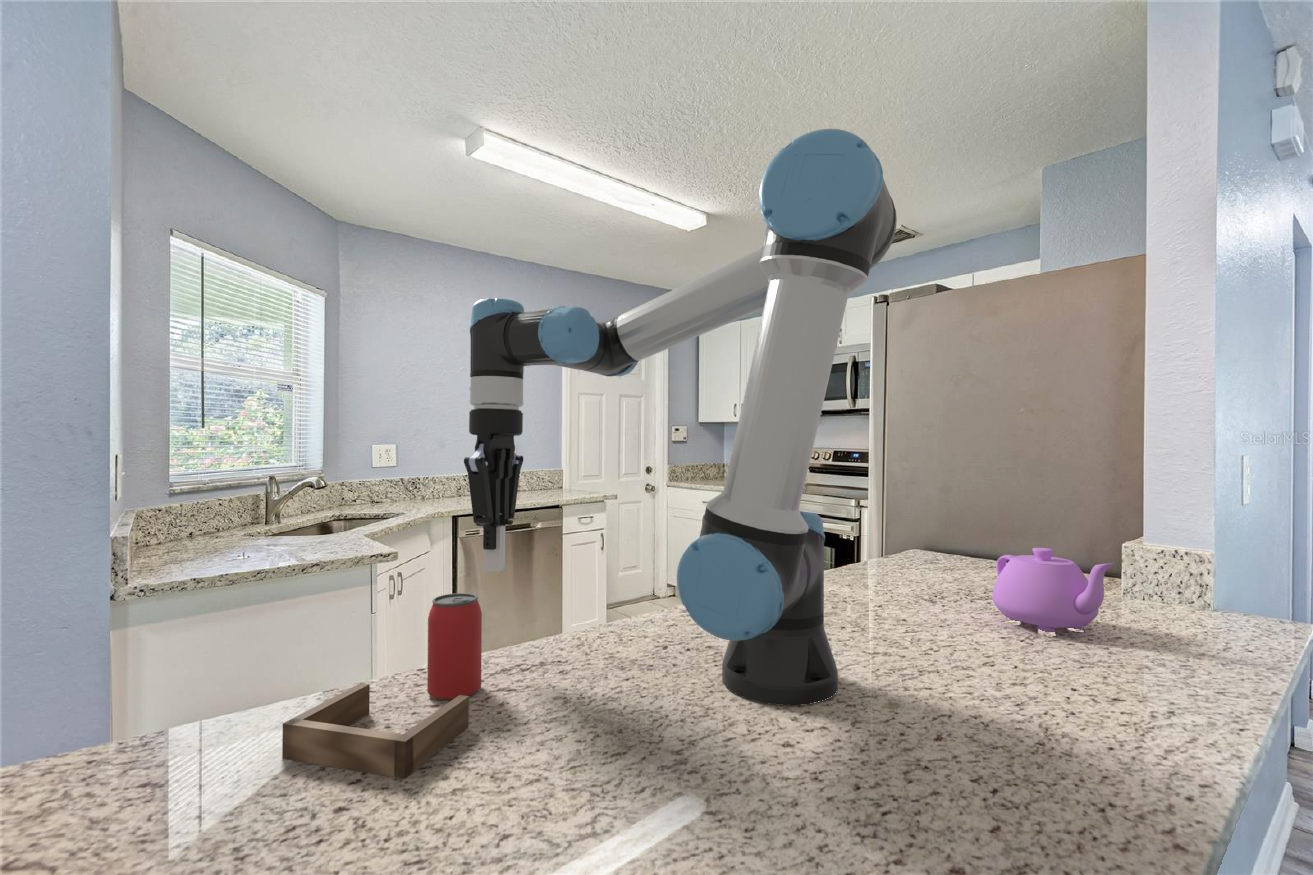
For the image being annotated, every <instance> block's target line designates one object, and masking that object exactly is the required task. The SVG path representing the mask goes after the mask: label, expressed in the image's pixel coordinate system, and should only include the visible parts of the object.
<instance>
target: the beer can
mask: <svg viewBox="0 0 1313 875" xmlns="http://www.w3.org/2000/svg"><path fill="white" fill-rule="evenodd" d="M478 600H479V596H478V595H476V594H473V593H468V592H467V593H465V592H458V593H457V592H456V593H455V592H454V593H447V594H443V595H438V596H436V597H435V598H433V599H432V605H431V608H430V610H429V613H428V617H427V680H426V681H427V687H426V688H427V693H428V695H429V696H430V697H431V698H433V699H435V700H438V701H445V702H446V701H449V702H450V701H452V700H453V699H454V698H456V697H457V696H459V695H464V696H469V697H472V696H473V695H475V694H476V693H478V691H479V690H480V689H481V688H482V653H483V652H482V644H483V642H482V641H483V640H482V631H483V630H482V629H483V628H482V623H483V622H482V621H483V618H482V613H483V612H482V608H481V606H480V603H479V601H478Z"/></svg>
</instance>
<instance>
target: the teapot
mask: <svg viewBox="0 0 1313 875" xmlns="http://www.w3.org/2000/svg"><path fill="white" fill-rule="evenodd" d="M1032 552H1033V555H1031V554H1023V555H1021V554H1020V555H1012V554H1004V555H1002V556H1000V557H999V558H997V561H996V574H997V578H996V581H995V583H994V586H993V590H992V591H993V592H992V602H993V604H994V606H996V607H995V608H997V610H998V611H999V612H1000V613H1001V614H1002V615H1003V616H1004V617H1006V618H1009V619H1012V620H1015V621H1020V622H1022V623H1025V624H1030V625H1033V626H1035V625H1036V626H1037V630H1038V629H1040V630H1042V631H1045V632H1056V633H1057V630H1056V628H1057V629H1059V628H1060V629H1066V628H1074V629H1080V630H1081V629H1084V627H1086V626H1088V625H1089V624H1091V622H1093V621H1094V620H1095V619H1096V618H1097V617H1098V615H1099V609H1100V607H1101V606H1102V605H1103V601H1104V597H1105V587H1104V584H1105V583H1104V577H1105V573H1106V572H1107V570H1108V569H1109V568H1110V567H1111V566H1113V565H1115V563H1116V562H1111V563H1109V562H1108V563H1101V564H1095V565H1094V566H1093V567H1092V568H1091V570H1090V572H1089V578H1087V577H1086V575H1085V574H1084V572H1083V571H1082V570H1081V568H1080V567H1079V565H1078V564H1077V563H1076V562H1074V560H1070V559H1067V558H1062V557H1057V556H1053V554H1054V549H1052V548H1047V547H1034V548H1032ZM1007 561H1008V562H1007Z"/></svg>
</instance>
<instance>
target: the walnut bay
mask: <svg viewBox="0 0 1313 875" xmlns="http://www.w3.org/2000/svg"><path fill="white" fill-rule="evenodd" d="M370 684H371V683H365V682H360V683H358V684H356V685H354V686H353V687H350V688H348V689H346V690H344V691H343V692H341V693H339V694H337V695H335V696H333V697H331V698H329V699H327V700H325V701H323V702H322V703H320V704H318V705H315V706H314V707H311V708H310V709H308V710H306V711H304V712H302V713H299V714H298V715H297V716H295V717H293V718H290V719H289V720H287V721H285V722H283V723H282V738H281V739H282V743H281V744H282V748H281V749H282V752H281V753H282V754H281V756H282V757H281V759H283V760H291V761H295V762H302V763H307V764H308V763H309V764H315V765H319V766H326V767H330V768H337V769H343V770H349V771H355V772H362V773H367V774H372V775H373V774H374V775H380V776H384V777H390V778H391V777H392V778H395V779H396V778H397V779H403V780H406V779H407V778H408V777H410V775H412V774H413V773H414V772H415V771H417V770H418V769H419V768H420V767H422V766H423V765H425V763H427V762H428V761H429V760H431V759H432V758H433V757H434V756H435V755H436V754H438V753H439V752H440V751H441V750H443V749H444V748H445V747H447V746H448V745H449V744H450V743H451V742H452V741H454V740H455V739H457V737H459V736H460V735H462V734H463V733H464V732H465V731H466V730H468V729H469V726H470V722H469V721H470V700H469V699H470V696H464V695H459V696H457V697H456V698H454V699H453V700H452V701H449V702H447V703H446V704H444V705H443V706H442V707H440V708H439V709H437V710H436V711H434V712H433V713H431V714H430V715H429V716H426V718H424V719H423V720H421V721H420V722H418V723H417V724H416V725H414V726H412V727H411V728H410V729H409V730H407V731H405V732H404V733H395V732H391V731H390V732H389V731H382V730H376V729H375V730H374V729H369V728H364V727H363V728H362V727H356V726H352V725H353V724H354V723H357V722H358V721H360V720H362V719H363V718H365V717H366V716H368V715H370V699H371V697H370V694H371V693H370V691H371V690H370V688H371V687H370V686H371V685H370Z"/></svg>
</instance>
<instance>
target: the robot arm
mask: <svg viewBox="0 0 1313 875" xmlns="http://www.w3.org/2000/svg"><path fill="white" fill-rule="evenodd" d="M883 171H884V170H883V166H882V164H881V161H880V159H879V158H878V156H877V155H876V153H875V152H874V151H873V150H872V149H871V147H870V146H869V145H868V143H867V142H866V141H865V140H864V139H862V138H861V137H859V136H858V135H856V134H855V133H853V132H850V131H848V130H845V129H839V128H822V129H816V130H813V131H810V132H807V133H805V134H802V135H800V136H797V137H796V138H794V139H793V140H792V141H791V142H789V143H788V145H786V146H785V147H783V148H781V149H780V150H779V151H778V152H777V153H776V154H775V156H773V158H772V159H771V160H770V162H769V163H768V165H767V167H766V169H765V170H764V173H763V175H762V178H761V181H760V186H759V190H758V191H759V192H758V203H759V207H760V212H761V217H762V219H763V221H764V222H765V224H766V225H767V226H766V229H765V233H764V234H765V235H764V240H763V243H762V247H761V248H759V249H757V250H754V251H752V252H750V253H748V254H745V255H743V256H742V257H740V258H737V259H736V260H732V261H730V262H729V263H727V264H725V265H723V266H721V267H719V268H717V269H714V270H712V271H710V272H708V273H706V274H704V275H701V276H699V277H697V278H695V279H693V280H691V281H689V282H687V283H685V284H683V285H680V286H678V287H676V288H674V289H672V290H670V291H668V292H666V293H664V294H662V295H660V296H657V297H655V298H654V299H651V300H649V301H647V302H644V303H642V304H640V305H638V306H636V307H634V308H632V309H629V310H628V311H625V312H624V313H622V314H620V315H617V316H615V317H613V318H610V320H607V321H604V322H601V323H600V322H597V321H596V319H595V317H594V316H592V315H591V313H590V311H589V310H588V309H586V308H584V307H581V306H562V305H561V306H558V307H553V308H548V309H540V310H533V311H532V310H531V311H526V312H525V307H524V306H523V304H521V302H518V301H517V300H513V299H506V298H482V299H479V300H477V301H476V302H474V303H473V305H472V308H471V317H470V327H469V334H470V356H469V357H470V362H469V363H470V364H469V365H470V369H469V371H470V375H469V377H470V381H469V382H470V386H469V404H470V405H471V406H473V409H472V408H471V410H470V411H469V419H468V421H469V422H468V432H469V434H471V435H473V436H476V440H475V445H474V451H475V452H474V453H473V455H472V456H465V457H464V458H463V463H464V464H463V465H464V466H465V469H466V472H467V478H468V486H469V494H470V501H471V502H470V503H471V510H472V511H471V512H472V519H473V523H474V524H475V526H476V527H482V529H483V531H482V532H483V534H482V536H483V538H482V550H483V551H482V572H484V573H485V572H486V573H487V572H489V573H503V572H504V571H506V526H512V525H513V523H514V520H513V519H514V518H515V513H516V506H517V497H518V491H519V482H520V476H521V475H520V473H521V470H522V466H523V462H524V456H523V455H517V454H516V444H515V437H516V436H522V434H523V431H524V430H523V428H524V427H523V423H524V412H522V410H520V407H522V406H523V405H524V374H525V373H524V370H525V368H524V367H530V366H557V367H563V368H566V369H572V370H578V371H583V372H589V373H593V374H598V375H600V376H604V377H611V378H612V377H623V376H626V375H628V374H630V373H631V372H632V371H633V370H634V369H635V367H636V366H637V365H638V363H639V362H640V361H642V360H644V359H647V358H649V357H652V356H654V355H656V354H659V353H662V352H664V351H666V350H669V349H671V348H674V347H676V346H678V345H680V344H682V343H683V344H684V343H685V342H688V341H690V340H692V339H694V338H698V337H699V336H702V335H705V334H706V333H709V332H711V331H714V330H716V329H719V328H720V327H723V326H726V325H728V324H730V323H732V322H735V321H738V320H740V319H742V318H745V317H747V316H749V315H751V314H754V313H756V312H759V311H761V310H762V313H761V314H762V315H761V318H760V324H759V327H758V332H757V337H756V341H755V346H754V350H753V354H752V355H753V356H752V358H751V359H752V360H751V363H750V364H751V365H750V370H749V373H748V378H747V382H746V387H745V391H744V394H743V395H744V396H743V400H742V401H743V402H742V404H741V409H740V414H739V417H738V423H737V427H736V431H735V432H736V433H735V435H734V436H735V437H734V442H733V445H732V449H731V455H730V459H729V463H728V468H727V473H726V478H725V483H724V486H723V490H722V491H721V493H719V494H718V495H716V496H715V497H713V498H712V499H710V500H708V501H707V503H706V506H705V510H704V515H703V519H702V524H701V528H700V532H699V537H698V538H696V539H695V540H694V541H692V542H691V543H690V544H689V546H688V547H687V548H686V549H685V551H684V552H683V554H682V555H681V557H680V560H679V562H678V565H677V569H676V570H677V571H676V587H677V591H678V592H677V593H678V596H679V599H680V602H681V604H682V606H684V607H685V610H686V611H687V613H688V616H689V617H690V618H691V620H693V622H694V623H695V624H696V625H697V626H698V627H699V628H700V629H702V630H704V631H705V632H706V633H708V634H710V635H712V636H713V637H715V638H719V639H722V640H724V641H725V640H726V641H728V644H727V647H726V649H725V652H724V655H723V656H724V657H723V660H722V663H721V675H722V676H721V679H722V683H723V685H724V687H726V689H727V690H729V691H731V692H732V693H733V694H735V693H736V695H738V696H739V697H742V696H743V698H744V697H745V699H748V700H751V701H754V700H755V701H754V702H758V703H762V704H763V703H764V704H768V703H770V704H769V705H776V704H783V705H782V706H802V705H801V704H807V705H811V704H810V703H814V702H818V701H822V700H825V699H827V698H829V697H831V696H833V695H834V694H835V693H836V694H837V692H838V690H839V671H838V668H837V667H838V666H837V664H836V661H835V657H834V655H833V651H832V649H831V646H830V643H829V639H828V637H827V636H828V635H827V634H826V630H825V619H824V618H825V616H824V615H825V613H824V611H825V593H824V592H825V590H824V589H825V584H824V583H825V570H824V569H825V540H826V535H825V530H824V521H823V518H822V517H821V516H820V515H819V514H817V513H815V512H811V511H810V512H809V511H800V505H801V500H802V496H803V492H804V487H805V484H806V480H807V475H808V470H809V466H810V462H811V458H812V454H813V450H814V446H815V440H816V435H817V432H818V427H819V424H820V420H821V415H822V414H821V413H822V411H823V405H824V401H825V398H826V393H827V388H828V384H829V380H830V376H831V372H832V367H833V363H834V360H835V354H836V350H837V346H838V341H839V338H840V333H841V328H842V324H843V319H844V316H845V312H846V307H847V303H848V299H849V296H851V294H852V293H853V292H855V291H856V290H857V289H859V288H861V287H863V286H864V285H865V284H867V282H868V278H869V274H870V270H871V269H873V268H874V267H875V266H876V265H878V263H879V262H880V261H882V259H884V257H885V256H886V254H887V252H888V251H889V250H890V247H891V246H892V243H893V241H894V238H895V234H896V230H897V220H898V219H897V218H898V216H897V210H896V207H895V203H894V201H893V198H892V197H891V195H890V192H889V189H888V186H887V184H886V182H885V179H884V172H883ZM836 691H837V692H836ZM836 694H835V695H836ZM835 695H834V696H835ZM834 696H833V697H834ZM831 698H832V697H831ZM829 699H830V698H829ZM827 700H828V699H827ZM825 701H826V700H825ZM822 702H823V701H822ZM818 703H819V702H818ZM814 704H815V703H814Z"/></svg>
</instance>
